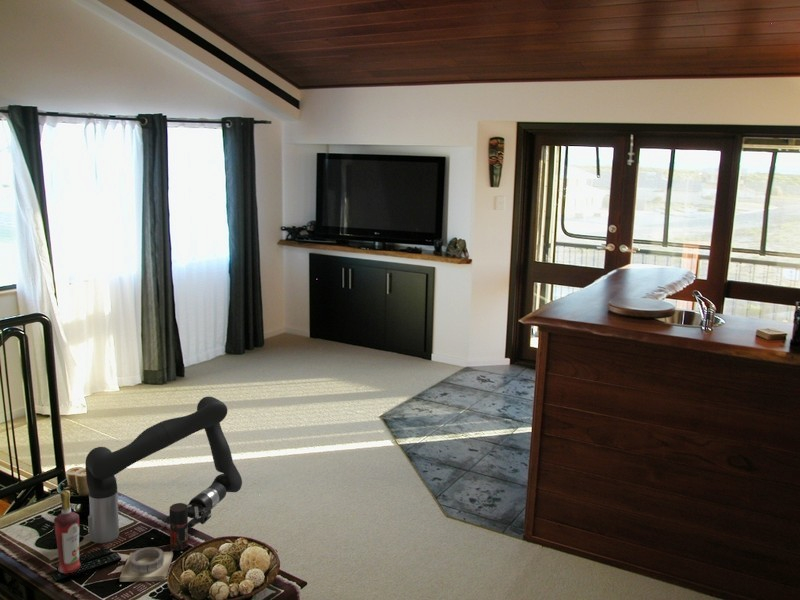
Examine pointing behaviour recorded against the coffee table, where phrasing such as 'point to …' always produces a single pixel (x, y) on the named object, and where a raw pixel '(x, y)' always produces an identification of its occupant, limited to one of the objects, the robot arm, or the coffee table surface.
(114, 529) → the robot arm
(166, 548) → the coffee table surface
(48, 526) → the coffee table surface
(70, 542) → the liquor
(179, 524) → the deodorant
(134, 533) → the coffee table surface
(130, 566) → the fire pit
